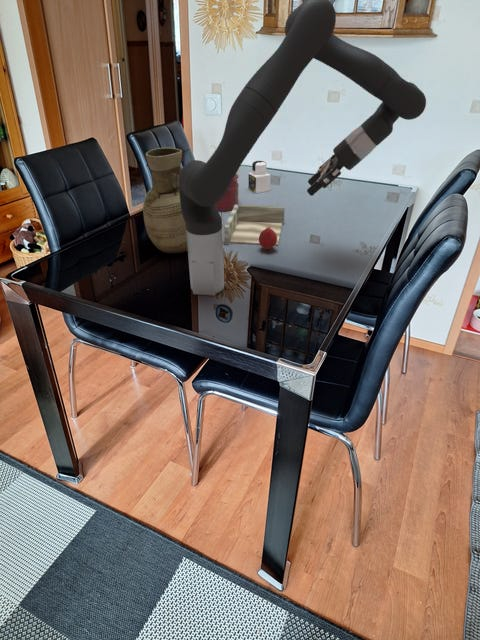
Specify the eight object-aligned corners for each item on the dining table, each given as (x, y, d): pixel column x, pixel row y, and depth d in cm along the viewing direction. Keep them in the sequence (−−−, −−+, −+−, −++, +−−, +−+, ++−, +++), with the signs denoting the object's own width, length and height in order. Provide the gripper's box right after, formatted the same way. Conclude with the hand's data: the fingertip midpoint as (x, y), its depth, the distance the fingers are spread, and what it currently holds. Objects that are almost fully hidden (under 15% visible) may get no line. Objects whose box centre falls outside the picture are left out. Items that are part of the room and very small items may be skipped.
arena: (279, 247, 140) (279, 229, 137) (224, 244, 143) (224, 226, 139) (283, 222, 157) (284, 206, 154) (235, 220, 160) (234, 204, 156)
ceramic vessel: (199, 229, 153) (193, 140, 136) (211, 254, 136) (206, 156, 119) (145, 235, 149) (132, 144, 132) (150, 262, 132) (136, 161, 115)
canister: (243, 209, 170) (243, 162, 160) (212, 213, 166) (210, 166, 156) (232, 199, 180) (231, 154, 170) (202, 203, 176) (199, 158, 166)
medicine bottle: (248, 188, 190) (248, 160, 184) (262, 186, 193) (263, 158, 186) (255, 193, 185) (255, 164, 178) (270, 191, 187) (270, 162, 181)
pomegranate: (275, 254, 136) (276, 230, 131) (257, 253, 137) (257, 229, 132) (277, 246, 141) (278, 223, 136) (260, 245, 142) (260, 222, 137)
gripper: (344, 132, 122) (301, 172, 130) (347, 143, 111) (299, 186, 119) (361, 151, 125) (317, 190, 133) (365, 165, 113) (317, 206, 121)
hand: (309, 188), depth 126 cm, fingers open, 8 cm apart
